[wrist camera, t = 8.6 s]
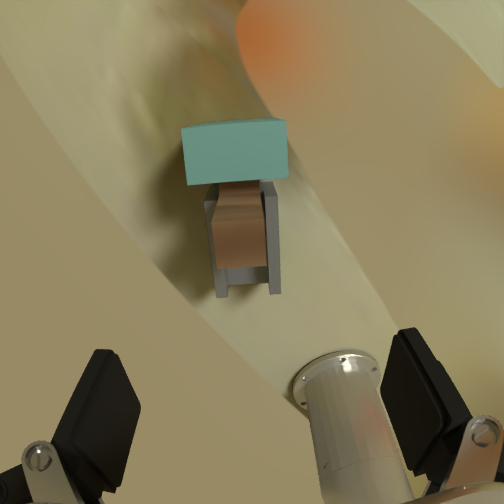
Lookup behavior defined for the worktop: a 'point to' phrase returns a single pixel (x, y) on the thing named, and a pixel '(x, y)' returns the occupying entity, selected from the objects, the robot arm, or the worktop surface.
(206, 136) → the teal rectangular block
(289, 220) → the worktop surface
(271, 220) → the guide channel
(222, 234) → the rod
